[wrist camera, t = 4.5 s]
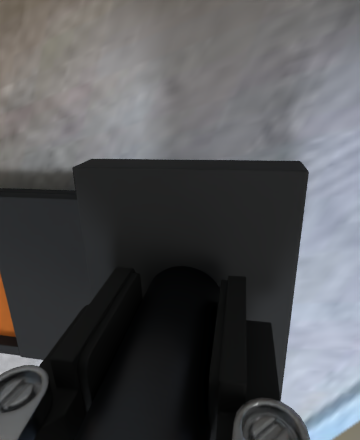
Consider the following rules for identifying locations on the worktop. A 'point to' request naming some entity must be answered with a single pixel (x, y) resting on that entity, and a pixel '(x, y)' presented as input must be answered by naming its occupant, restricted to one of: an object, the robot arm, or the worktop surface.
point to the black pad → (199, 225)
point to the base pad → (40, 269)
